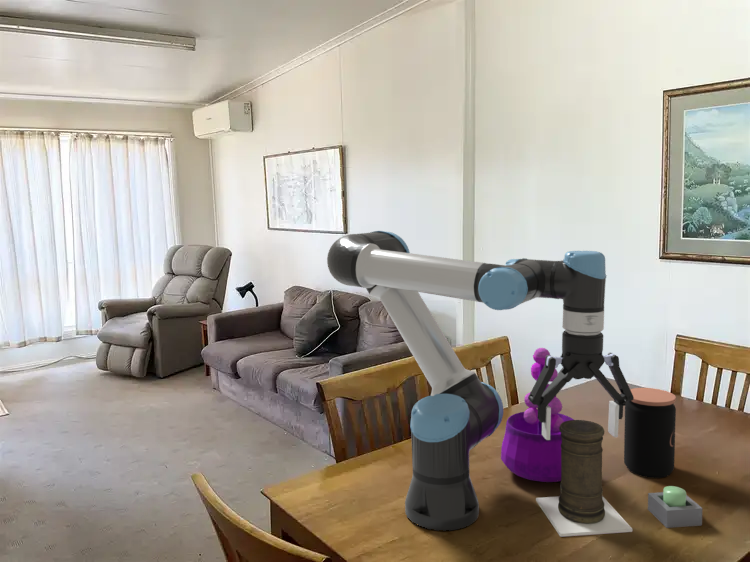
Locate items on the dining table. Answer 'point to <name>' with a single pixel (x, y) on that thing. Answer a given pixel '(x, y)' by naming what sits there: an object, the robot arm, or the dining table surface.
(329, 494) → the dining table surface
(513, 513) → the dining table surface
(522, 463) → the decorative plant
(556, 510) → the paper sheet
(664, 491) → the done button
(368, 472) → the dining table surface
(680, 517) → the button housing
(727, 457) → the dining table surface
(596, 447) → the container
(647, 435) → the coffee jar
